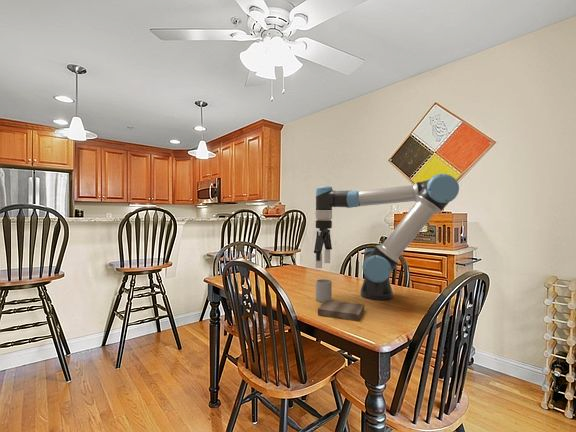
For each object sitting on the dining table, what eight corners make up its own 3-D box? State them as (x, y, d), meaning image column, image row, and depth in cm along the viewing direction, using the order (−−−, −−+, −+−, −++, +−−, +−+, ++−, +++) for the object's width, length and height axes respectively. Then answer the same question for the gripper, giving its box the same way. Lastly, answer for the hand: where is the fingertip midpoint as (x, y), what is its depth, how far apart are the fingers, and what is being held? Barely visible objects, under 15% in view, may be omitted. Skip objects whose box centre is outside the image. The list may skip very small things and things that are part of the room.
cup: (315, 302, 136) (316, 282, 136) (315, 296, 146) (315, 277, 146) (332, 302, 135) (332, 283, 135) (330, 296, 145) (330, 278, 145)
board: (364, 310, 125) (364, 304, 125) (358, 321, 113) (358, 314, 113) (326, 305, 131) (326, 299, 131) (317, 315, 119) (317, 308, 119)
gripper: (323, 218, 153) (323, 260, 153) (307, 220, 130) (306, 269, 130) (338, 219, 150) (337, 261, 150) (324, 220, 127) (323, 270, 127)
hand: (323, 265), depth 140 cm, fingers open, 13 cm apart
